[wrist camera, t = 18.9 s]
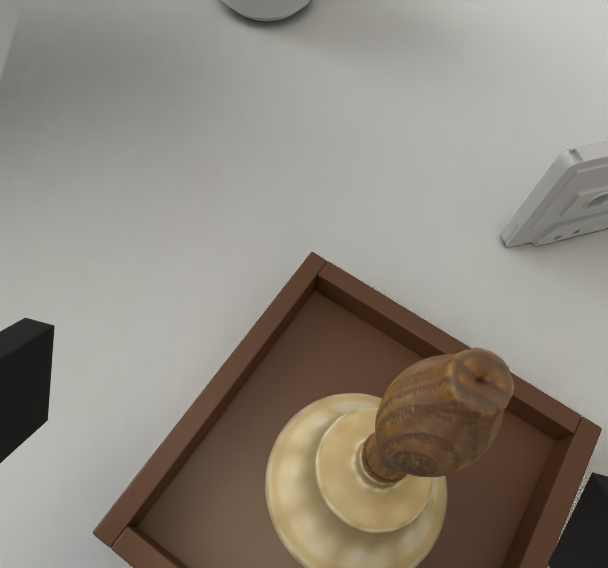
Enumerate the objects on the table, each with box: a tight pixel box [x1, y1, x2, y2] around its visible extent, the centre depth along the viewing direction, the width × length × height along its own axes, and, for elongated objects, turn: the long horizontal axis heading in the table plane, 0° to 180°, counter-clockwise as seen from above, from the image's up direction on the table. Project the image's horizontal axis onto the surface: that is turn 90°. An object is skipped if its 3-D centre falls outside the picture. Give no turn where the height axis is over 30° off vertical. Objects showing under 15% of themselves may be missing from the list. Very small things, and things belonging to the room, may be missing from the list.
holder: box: [93, 252, 602, 568], centre depth 24 cm, size 16×16×3 cm
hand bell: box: [265, 348, 514, 568], centre depth 17 cm, size 8×8×16 cm
